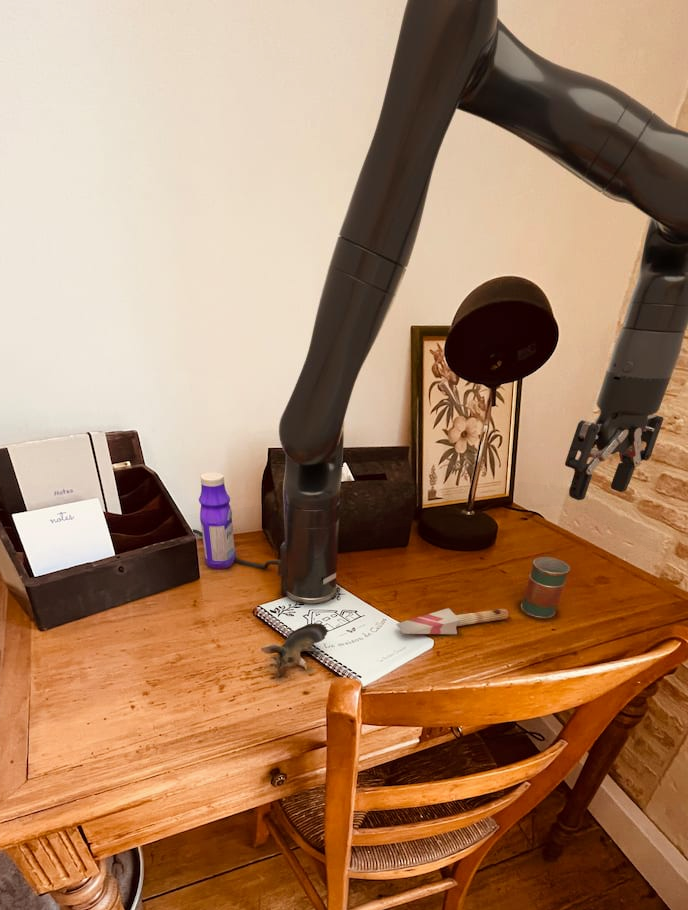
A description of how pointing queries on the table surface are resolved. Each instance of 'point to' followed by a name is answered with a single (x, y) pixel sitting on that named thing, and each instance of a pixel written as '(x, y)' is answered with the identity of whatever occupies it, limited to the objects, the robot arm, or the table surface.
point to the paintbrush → (448, 621)
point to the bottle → (216, 521)
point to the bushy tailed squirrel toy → (296, 646)
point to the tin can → (544, 587)
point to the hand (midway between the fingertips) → (597, 494)
